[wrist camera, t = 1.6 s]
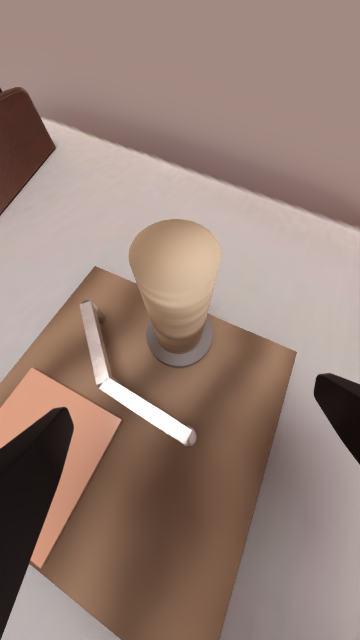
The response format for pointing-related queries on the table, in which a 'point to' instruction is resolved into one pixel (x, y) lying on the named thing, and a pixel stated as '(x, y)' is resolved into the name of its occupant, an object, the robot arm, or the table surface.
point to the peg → (176, 288)
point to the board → (161, 467)
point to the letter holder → (20, 143)
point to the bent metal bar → (115, 387)
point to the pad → (84, 450)
